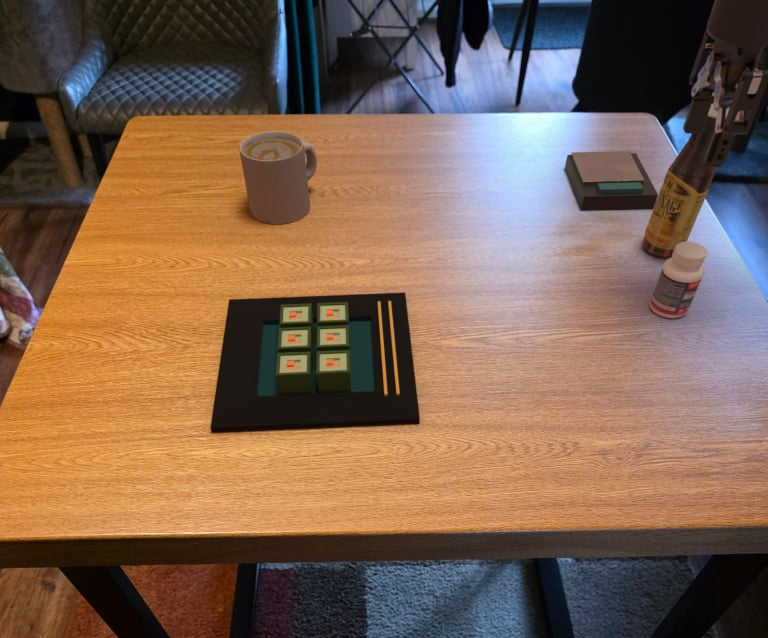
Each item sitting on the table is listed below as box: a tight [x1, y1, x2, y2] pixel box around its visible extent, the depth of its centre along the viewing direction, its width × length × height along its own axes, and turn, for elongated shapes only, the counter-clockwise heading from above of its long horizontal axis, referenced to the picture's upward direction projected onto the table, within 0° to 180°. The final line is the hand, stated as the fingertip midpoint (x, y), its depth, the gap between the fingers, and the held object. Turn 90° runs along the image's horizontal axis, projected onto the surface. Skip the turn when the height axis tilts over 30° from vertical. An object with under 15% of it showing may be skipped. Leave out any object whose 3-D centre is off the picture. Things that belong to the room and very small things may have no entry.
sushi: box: [209, 292, 421, 434], centre depth 85 cm, size 25×25×4 cm
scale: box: [564, 150, 659, 211], centre depth 111 cm, size 12×14×3 cm
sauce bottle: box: [642, 103, 729, 258], centre depth 93 cm, size 6×6×20 cm
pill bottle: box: [649, 240, 708, 319], centre depth 89 cm, size 5×5×9 cm
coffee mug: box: [238, 130, 318, 225], centre depth 106 cm, size 13×10×10 cm
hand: (701, 148), depth 79 cm, fingers open, 8 cm apart
